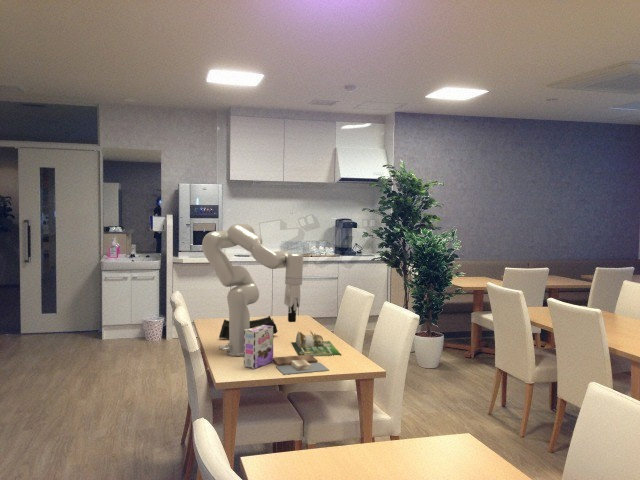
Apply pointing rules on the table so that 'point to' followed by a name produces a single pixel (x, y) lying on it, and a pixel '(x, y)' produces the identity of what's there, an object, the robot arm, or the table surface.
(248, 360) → the candy box
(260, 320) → the magazine
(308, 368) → the birch tile
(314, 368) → the slate mat
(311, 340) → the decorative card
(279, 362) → the walnut deck
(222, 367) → the table surface
